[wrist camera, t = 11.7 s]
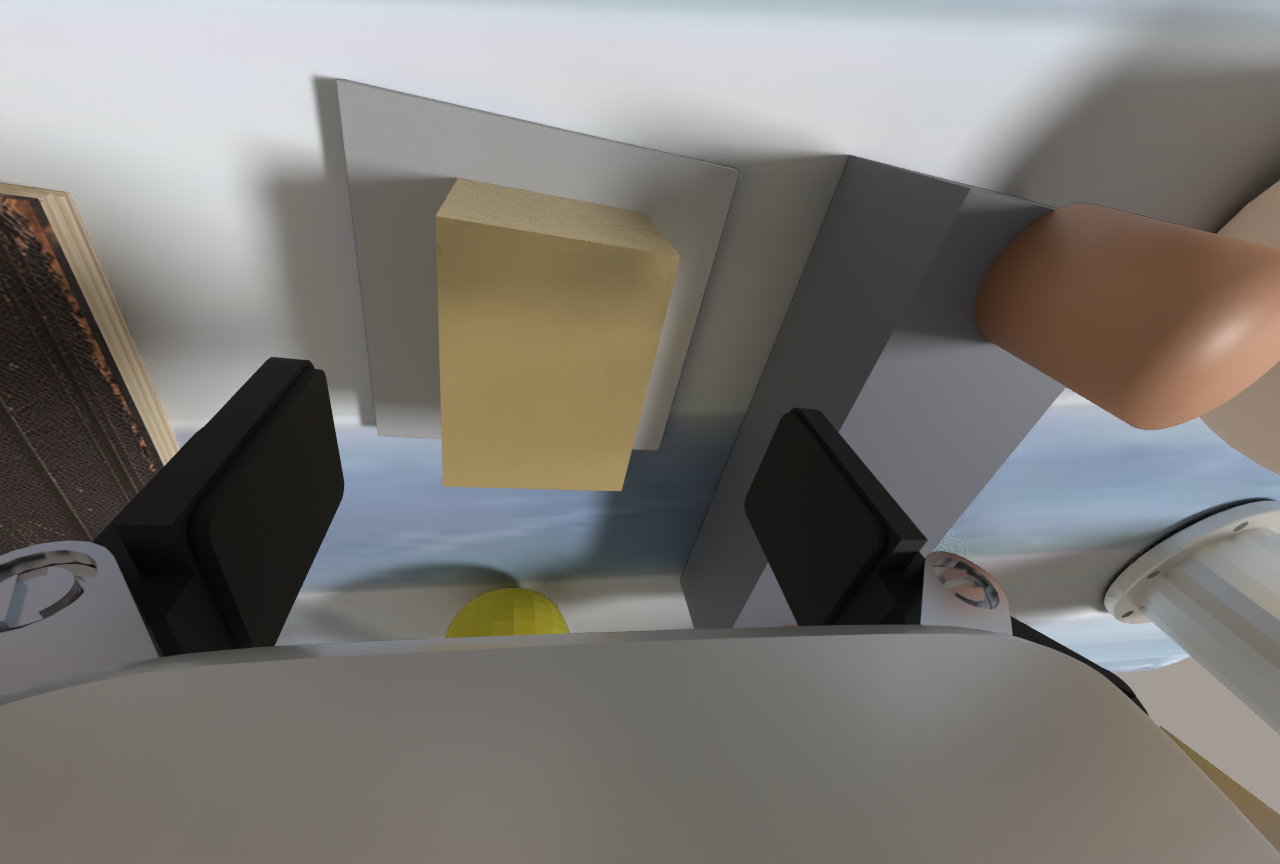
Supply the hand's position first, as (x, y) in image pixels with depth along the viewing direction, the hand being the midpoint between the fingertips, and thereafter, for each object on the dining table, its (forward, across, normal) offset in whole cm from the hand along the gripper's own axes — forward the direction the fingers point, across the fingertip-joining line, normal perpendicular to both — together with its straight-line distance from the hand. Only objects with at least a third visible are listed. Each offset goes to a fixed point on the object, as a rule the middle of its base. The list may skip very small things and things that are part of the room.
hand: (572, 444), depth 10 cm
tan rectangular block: (+6, 0, 0) cm, 6 cm away
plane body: (+7, -11, +4) cm, 14 cm away
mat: (+7, +1, 0) cm, 7 cm away
